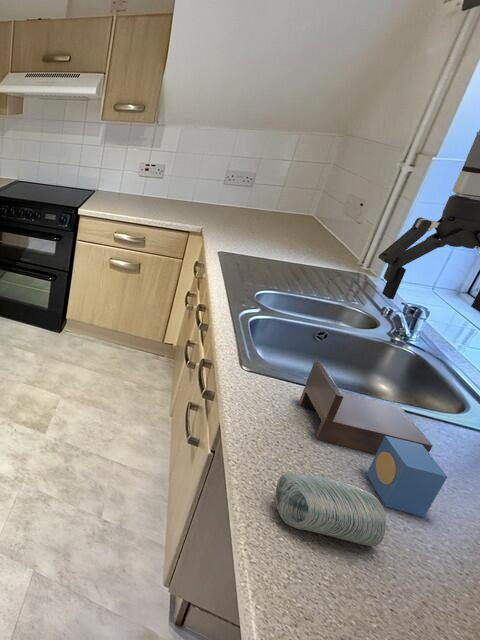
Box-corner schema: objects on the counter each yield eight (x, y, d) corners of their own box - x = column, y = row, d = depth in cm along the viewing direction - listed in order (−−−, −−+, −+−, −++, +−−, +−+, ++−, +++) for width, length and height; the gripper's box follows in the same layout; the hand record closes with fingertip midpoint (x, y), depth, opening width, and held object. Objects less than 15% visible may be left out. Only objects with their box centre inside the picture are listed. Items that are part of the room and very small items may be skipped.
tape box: (402, 483, 73) (423, 444, 70) (425, 518, 67) (449, 477, 64) (365, 473, 75) (383, 435, 72) (383, 506, 69) (405, 465, 66)
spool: (282, 529, 61) (308, 467, 62) (255, 500, 71) (278, 446, 71) (389, 584, 58) (416, 518, 58) (345, 546, 67) (369, 489, 67)
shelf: (389, 423, 87) (410, 380, 83) (421, 466, 77) (447, 419, 73) (298, 402, 93) (314, 361, 89) (317, 439, 83) (335, 395, 79)
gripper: (402, 194, 75) (360, 298, 82) (603, 210, 66) (535, 325, 74) (382, 186, 81) (345, 284, 89) (563, 200, 73) (504, 307, 80)
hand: (431, 303), depth 81 cm, fingers open, 13 cm apart
